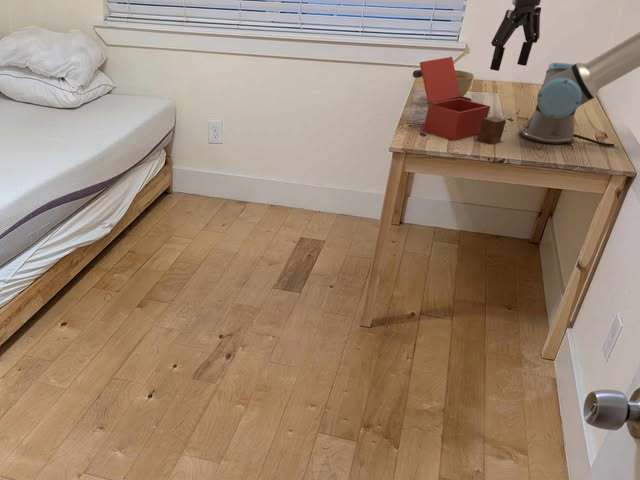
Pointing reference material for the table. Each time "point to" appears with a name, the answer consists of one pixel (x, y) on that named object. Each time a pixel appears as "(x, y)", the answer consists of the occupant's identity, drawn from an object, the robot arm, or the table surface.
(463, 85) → the planter bowl
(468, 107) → the chest
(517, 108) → the table surface
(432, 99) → the lid
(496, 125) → the block
